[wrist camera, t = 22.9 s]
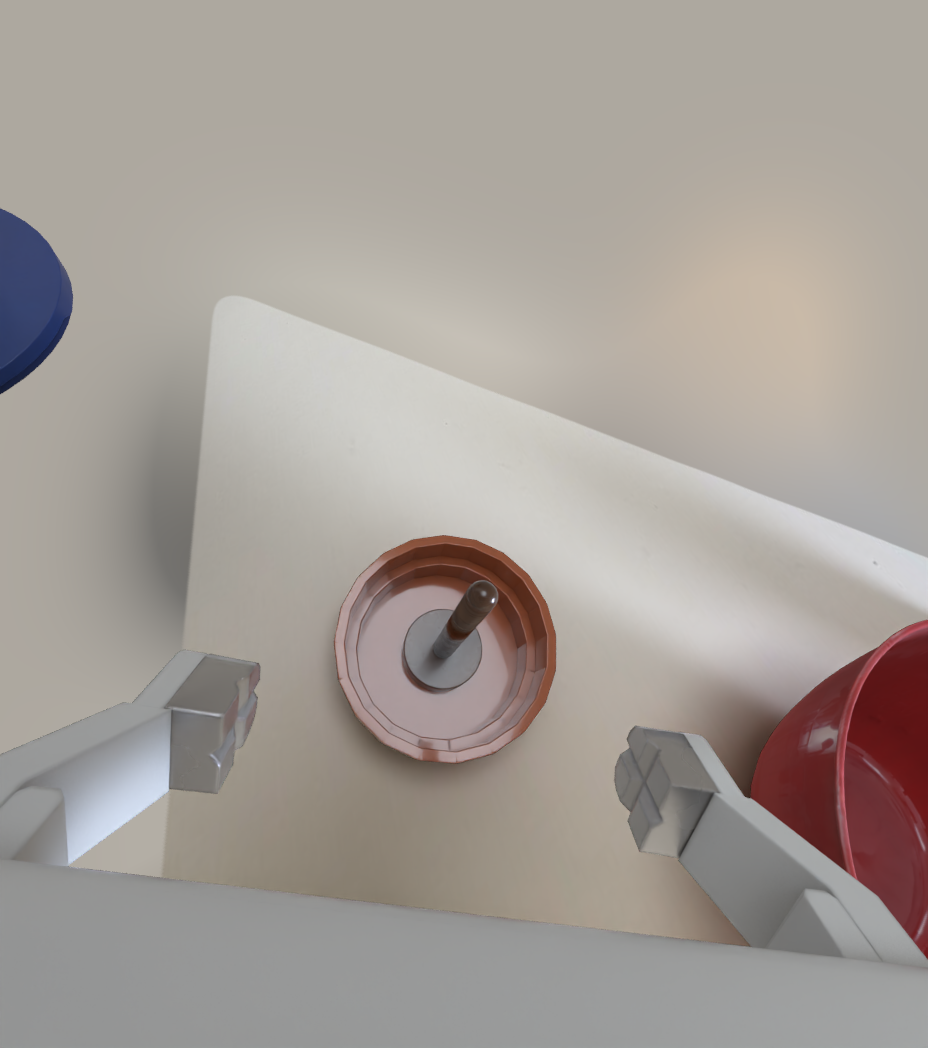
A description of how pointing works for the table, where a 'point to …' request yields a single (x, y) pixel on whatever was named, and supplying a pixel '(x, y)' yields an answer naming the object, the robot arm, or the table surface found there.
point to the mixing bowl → (862, 774)
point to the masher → (448, 641)
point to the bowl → (497, 685)
